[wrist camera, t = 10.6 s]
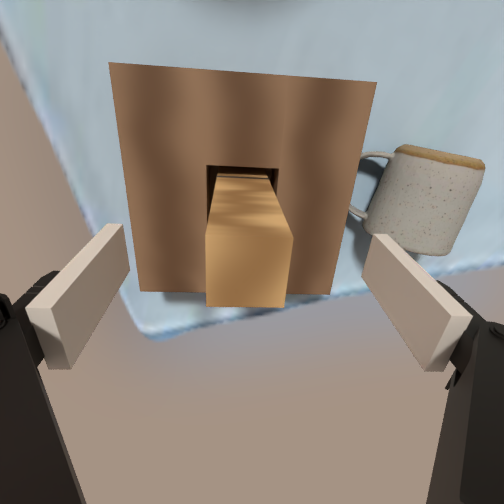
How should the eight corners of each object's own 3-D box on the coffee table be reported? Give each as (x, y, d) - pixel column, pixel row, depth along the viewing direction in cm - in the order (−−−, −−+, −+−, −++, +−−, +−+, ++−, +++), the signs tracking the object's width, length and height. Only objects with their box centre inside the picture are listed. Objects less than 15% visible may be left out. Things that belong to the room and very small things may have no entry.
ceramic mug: (454, 150, 28) (522, 167, 21) (417, 229, 32) (466, 265, 25) (347, 130, 27) (384, 142, 20) (322, 214, 31) (346, 248, 24)
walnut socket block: (351, 84, 25) (376, 82, 21) (316, 268, 33) (329, 294, 29) (131, 68, 24) (108, 62, 19) (153, 264, 32) (140, 291, 28)
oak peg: (263, 167, 27) (294, 237, 14) (260, 209, 29) (284, 307, 15) (218, 164, 26) (204, 234, 13) (218, 207, 28) (205, 306, 15)
